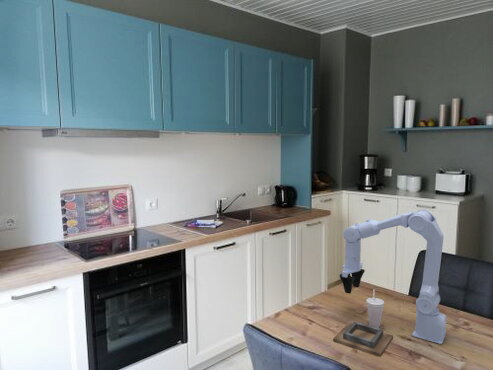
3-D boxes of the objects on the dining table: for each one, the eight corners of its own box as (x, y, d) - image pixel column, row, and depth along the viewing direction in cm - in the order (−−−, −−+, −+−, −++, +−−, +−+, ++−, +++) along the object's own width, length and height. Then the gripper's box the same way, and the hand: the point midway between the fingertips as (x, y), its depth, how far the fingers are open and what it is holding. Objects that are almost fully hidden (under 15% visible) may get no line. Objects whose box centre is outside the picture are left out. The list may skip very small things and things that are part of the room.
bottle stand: (392, 338, 129) (393, 329, 129) (380, 356, 118) (380, 347, 118) (348, 325, 139) (348, 317, 139) (333, 341, 128) (333, 332, 127)
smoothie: (369, 320, 143) (370, 285, 141) (386, 325, 139) (387, 289, 137) (362, 326, 138) (363, 290, 136) (379, 332, 134) (381, 294, 132)
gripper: (350, 250, 153) (350, 282, 155) (334, 258, 142) (334, 293, 144) (367, 253, 149) (366, 286, 150) (352, 262, 138) (351, 297, 139)
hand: (352, 289), depth 147 cm, fingers open, 7 cm apart
